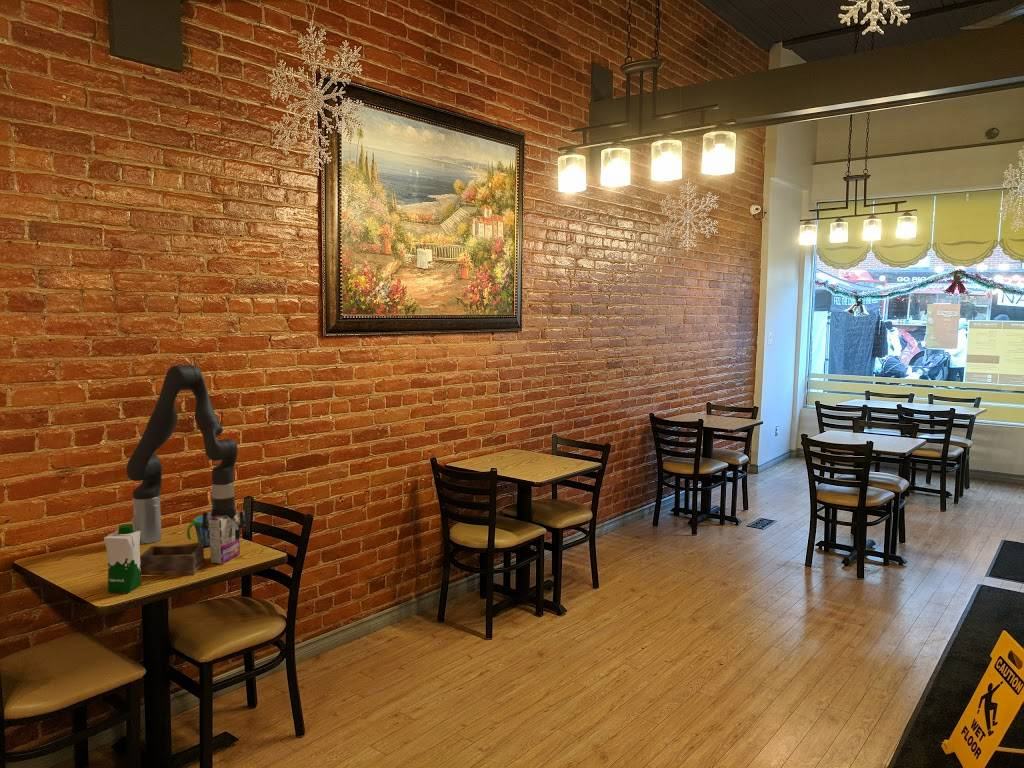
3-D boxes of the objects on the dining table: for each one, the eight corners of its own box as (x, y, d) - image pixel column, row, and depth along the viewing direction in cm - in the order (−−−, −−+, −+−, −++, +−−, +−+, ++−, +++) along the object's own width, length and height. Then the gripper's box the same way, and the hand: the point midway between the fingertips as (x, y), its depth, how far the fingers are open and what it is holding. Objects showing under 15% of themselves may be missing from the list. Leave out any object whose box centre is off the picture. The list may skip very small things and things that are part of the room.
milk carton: (145, 584, 237) (143, 524, 234) (129, 594, 228) (127, 532, 225) (119, 583, 237) (116, 523, 235) (102, 594, 228) (99, 531, 226)
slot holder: (138, 576, 243) (137, 557, 242) (151, 563, 255) (151, 545, 254) (194, 574, 245) (193, 555, 244) (205, 562, 257) (204, 544, 256)
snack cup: (191, 551, 268) (190, 524, 267) (184, 544, 276) (183, 518, 275) (234, 543, 277) (233, 517, 276) (226, 536, 286) (225, 511, 285)
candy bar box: (228, 553, 267) (226, 509, 265) (240, 554, 266) (239, 510, 264) (209, 563, 256) (208, 518, 254) (222, 564, 255) (220, 519, 253)
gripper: (246, 492, 263) (247, 535, 264) (205, 492, 261) (207, 536, 263) (241, 497, 255) (242, 542, 257) (199, 498, 254) (200, 543, 255)
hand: (224, 539), depth 260 cm, fingers open, 8 cm apart
